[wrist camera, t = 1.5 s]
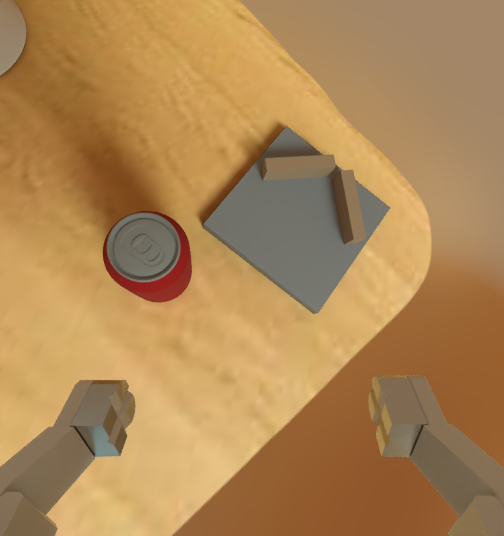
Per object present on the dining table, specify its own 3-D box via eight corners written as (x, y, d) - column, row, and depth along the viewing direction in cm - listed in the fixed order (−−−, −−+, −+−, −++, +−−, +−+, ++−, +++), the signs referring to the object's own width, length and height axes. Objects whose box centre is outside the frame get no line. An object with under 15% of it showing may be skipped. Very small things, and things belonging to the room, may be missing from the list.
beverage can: (161, 230, 38) (145, 186, 26) (204, 272, 38) (208, 246, 26) (114, 272, 36) (75, 246, 25) (160, 316, 36) (142, 310, 25)
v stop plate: (313, 313, 39) (326, 312, 35) (203, 227, 39) (203, 216, 35) (383, 211, 43) (402, 200, 39) (283, 133, 42) (292, 113, 39)
